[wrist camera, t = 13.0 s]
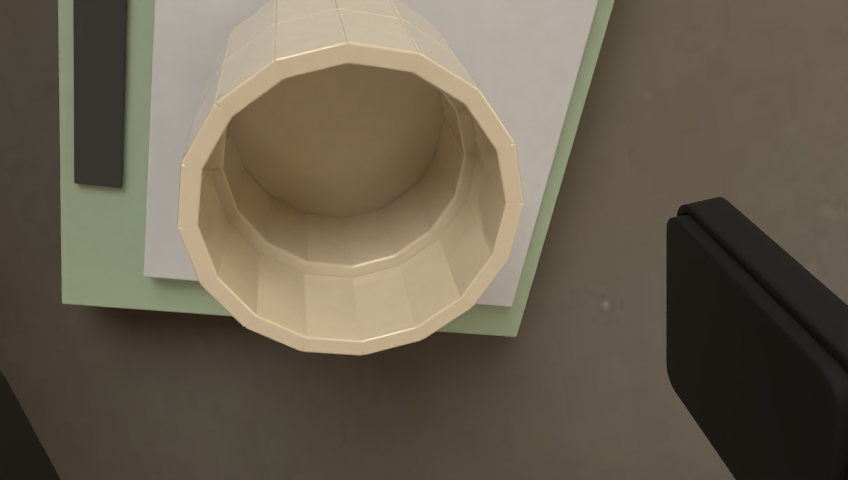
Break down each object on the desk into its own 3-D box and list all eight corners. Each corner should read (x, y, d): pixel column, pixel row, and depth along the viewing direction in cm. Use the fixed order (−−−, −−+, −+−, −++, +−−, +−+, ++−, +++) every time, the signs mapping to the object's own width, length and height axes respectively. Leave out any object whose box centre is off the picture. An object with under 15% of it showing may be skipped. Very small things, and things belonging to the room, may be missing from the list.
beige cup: (196, 216, 22) (169, 344, 17) (214, -40, 19) (189, 17, 14) (436, 240, 23) (481, 364, 18) (489, 6, 20) (560, 74, 15)
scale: (76, 270, 25) (56, 316, 23) (75, -245, 19) (46, -252, 16) (502, 305, 28) (521, 348, 26) (621, -125, 22) (660, -118, 20)
